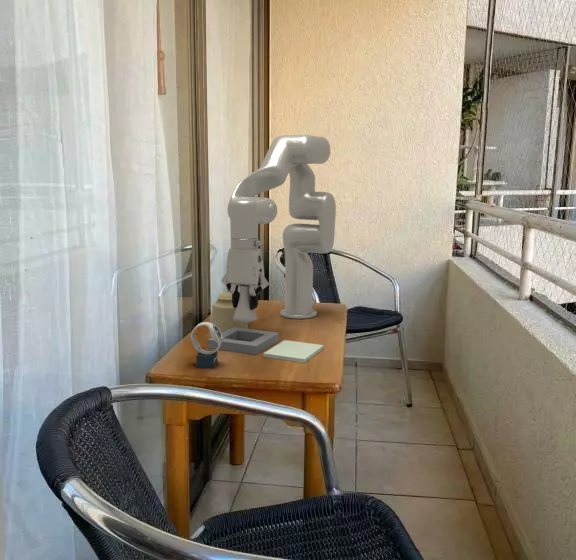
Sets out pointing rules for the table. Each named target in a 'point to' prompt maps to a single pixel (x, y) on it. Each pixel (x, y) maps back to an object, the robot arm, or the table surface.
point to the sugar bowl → (225, 313)
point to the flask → (244, 306)
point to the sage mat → (293, 351)
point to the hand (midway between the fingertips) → (245, 307)
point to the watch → (207, 356)
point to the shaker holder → (258, 338)
